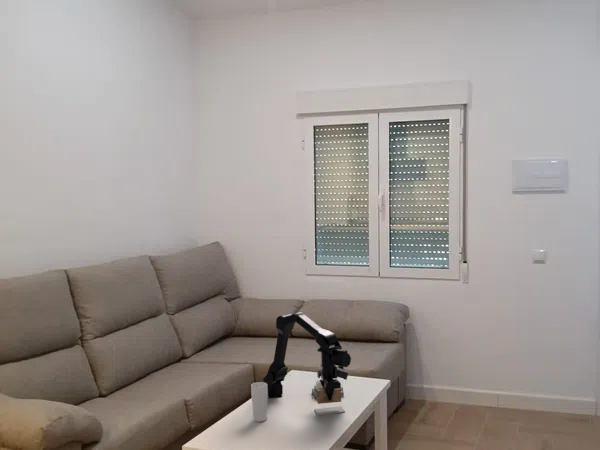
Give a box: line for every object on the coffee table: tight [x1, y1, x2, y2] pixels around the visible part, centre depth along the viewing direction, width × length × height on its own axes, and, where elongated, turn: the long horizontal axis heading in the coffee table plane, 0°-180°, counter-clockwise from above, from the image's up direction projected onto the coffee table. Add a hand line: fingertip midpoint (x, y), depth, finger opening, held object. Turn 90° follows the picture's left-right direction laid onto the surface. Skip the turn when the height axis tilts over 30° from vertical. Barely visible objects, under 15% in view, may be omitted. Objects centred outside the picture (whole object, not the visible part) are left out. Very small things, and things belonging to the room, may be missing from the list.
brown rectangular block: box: [316, 388, 344, 404], centre depth 260 cm, size 11×3×6 cm, turn 100°
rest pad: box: [314, 406, 346, 416], centre depth 260 cm, size 12×6×1 cm, turn 100°
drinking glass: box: [250, 381, 268, 423], centre depth 253 cm, size 7×7×15 cm
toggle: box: [315, 380, 323, 389], centre depth 281 cm, size 3×4×4 cm
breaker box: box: [311, 385, 345, 400], centre depth 282 cm, size 13×9×4 cm
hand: (329, 398), depth 260 cm, fingers closed on brown rectangular block, 3 cm apart
